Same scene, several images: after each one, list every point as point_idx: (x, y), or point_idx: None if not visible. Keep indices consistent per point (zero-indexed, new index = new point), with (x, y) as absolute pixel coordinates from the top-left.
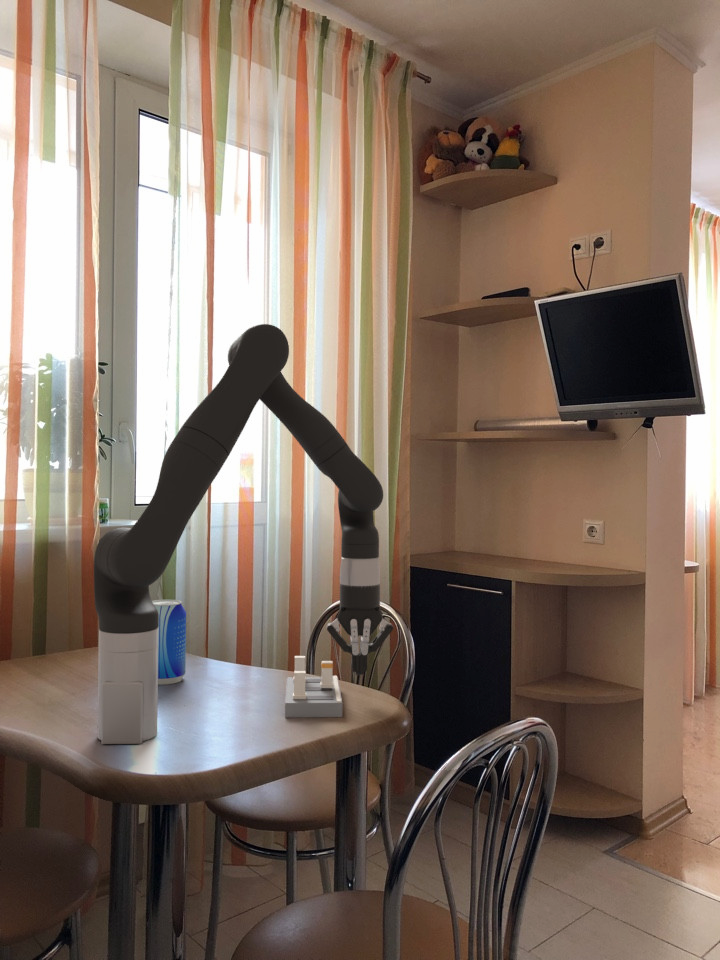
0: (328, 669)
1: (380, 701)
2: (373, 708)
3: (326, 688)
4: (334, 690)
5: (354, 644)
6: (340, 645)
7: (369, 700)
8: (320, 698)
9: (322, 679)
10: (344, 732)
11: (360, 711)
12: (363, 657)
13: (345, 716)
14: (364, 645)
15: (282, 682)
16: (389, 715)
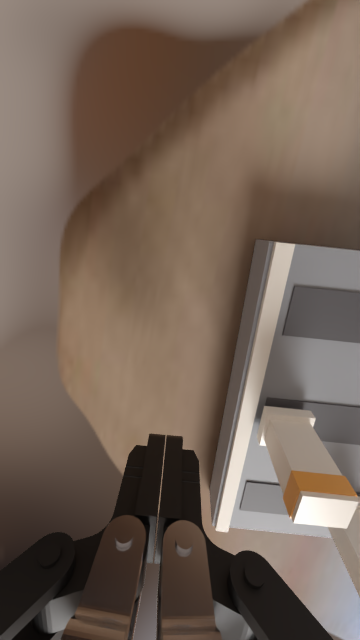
0: (308, 467)
1: (108, 383)
2: (138, 319)
3: None
4: (258, 399)
5: (192, 613)
6: (301, 613)
7: (138, 395)
8: (341, 304)
9: (315, 435)
10: (296, 30)
11: (183, 294)
12: (137, 503)
13: (243, 246)
14: (113, 593)
15: (332, 556)
16: (96, 238)
